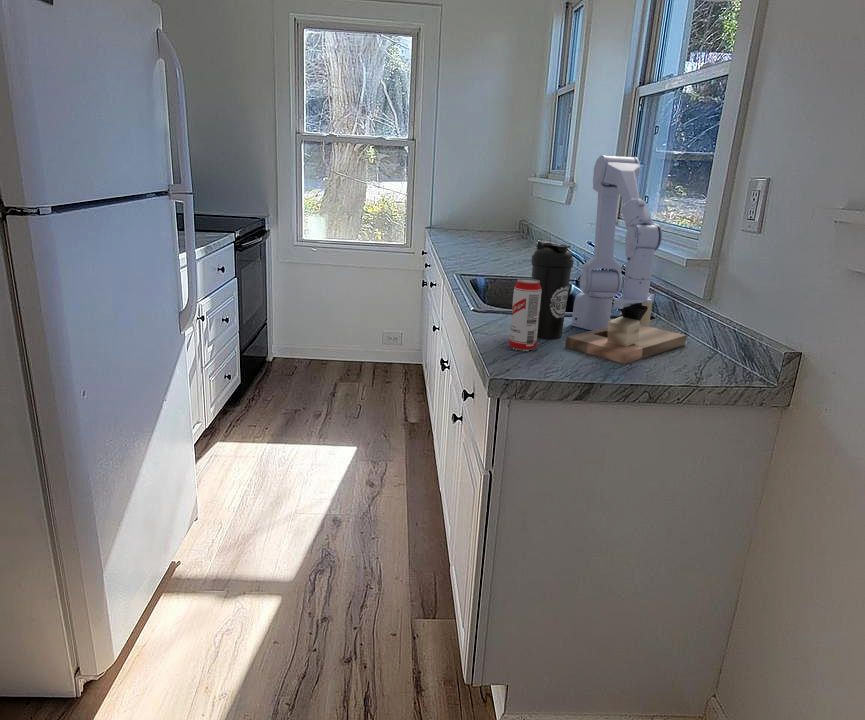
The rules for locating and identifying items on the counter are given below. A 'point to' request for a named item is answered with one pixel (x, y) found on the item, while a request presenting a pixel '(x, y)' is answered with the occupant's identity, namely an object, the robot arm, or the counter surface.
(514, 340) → the beer can
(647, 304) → the cream domed cylinder
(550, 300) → the water bottle
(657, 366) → the counter surface
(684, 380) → the counter surface
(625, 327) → the maple block
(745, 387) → the counter surface
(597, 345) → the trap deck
